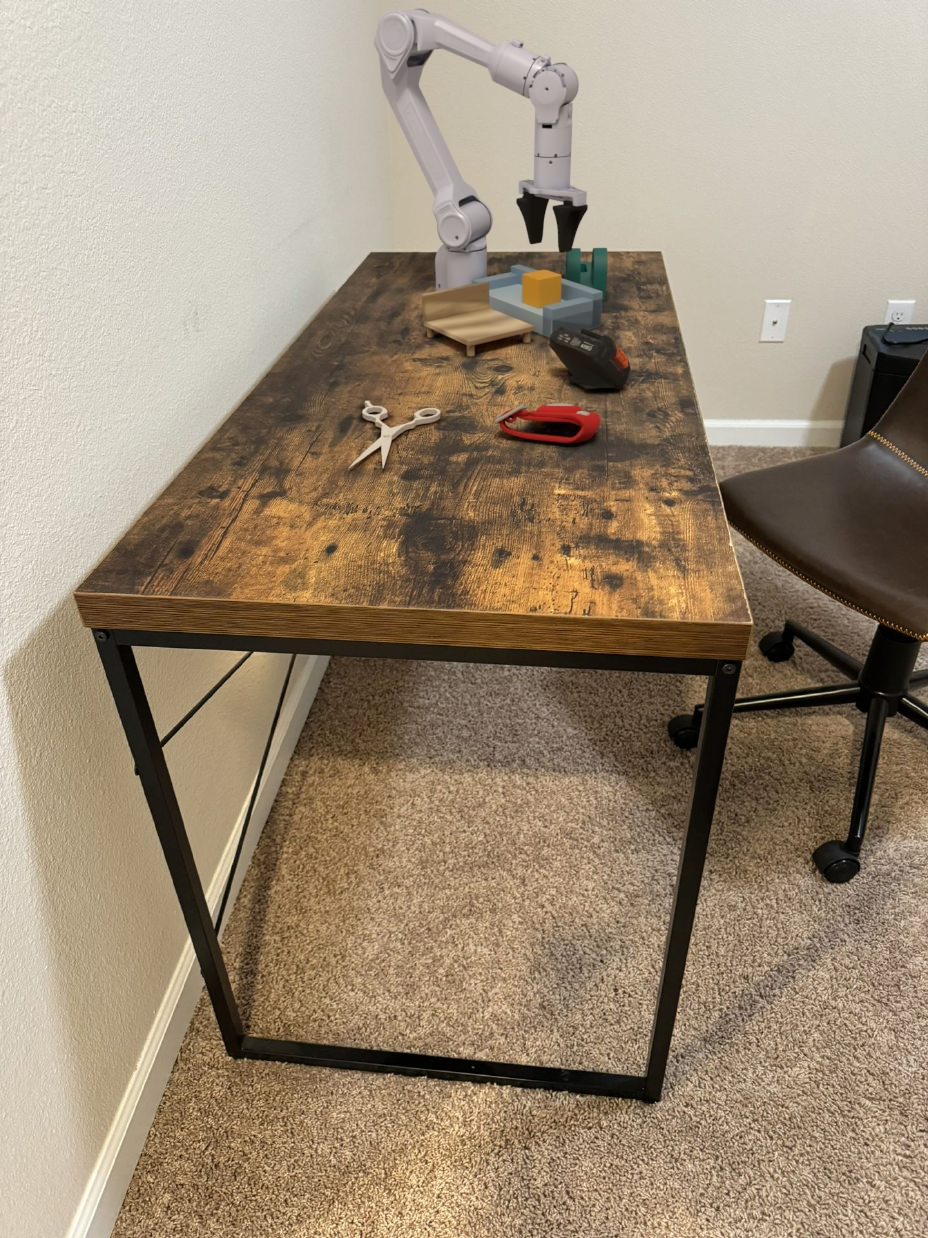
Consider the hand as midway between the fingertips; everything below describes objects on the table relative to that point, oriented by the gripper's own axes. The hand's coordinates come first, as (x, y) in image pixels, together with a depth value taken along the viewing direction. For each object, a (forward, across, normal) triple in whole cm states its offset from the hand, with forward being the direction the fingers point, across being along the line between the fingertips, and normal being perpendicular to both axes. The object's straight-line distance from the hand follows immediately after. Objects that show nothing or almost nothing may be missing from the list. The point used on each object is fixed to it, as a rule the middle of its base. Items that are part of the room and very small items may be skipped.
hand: (550, 247), depth 149 cm
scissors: (+10, +30, -50) cm, 59 cm away
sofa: (+10, +2, -5) cm, 11 cm away
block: (+7, +5, -6) cm, 10 cm away
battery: (+10, +30, -18) cm, 37 cm away
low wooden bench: (+10, +6, -19) cm, 22 cm away
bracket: (+10, -6, +13) cm, 18 cm away
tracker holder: (+10, +40, -33) cm, 53 cm away
